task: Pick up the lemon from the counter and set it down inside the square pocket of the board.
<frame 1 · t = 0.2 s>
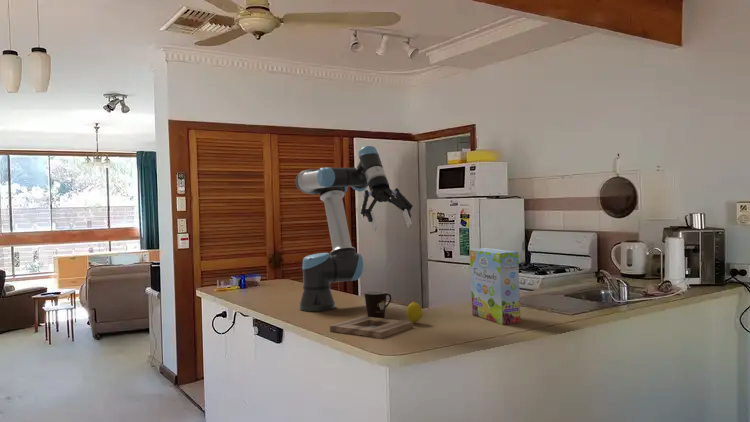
hand: (393, 227, 206), 35 cm above the counter, tool tilted 35°, fingers open, 13 cm apart
pocket board: (371, 329, 198), on the counter
snack box: (495, 319, 210), on the counter
coffee mug: (380, 318, 218), on the counter
lemon: (414, 324, 206), on the counter
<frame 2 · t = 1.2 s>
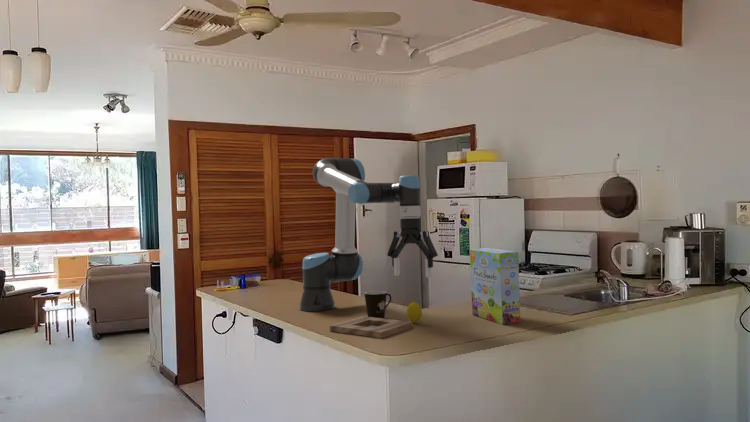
hand: (412, 276, 206), 17 cm above the counter, tool pointing down, fingers open, 13 cm apart
nothing on the counter moved.
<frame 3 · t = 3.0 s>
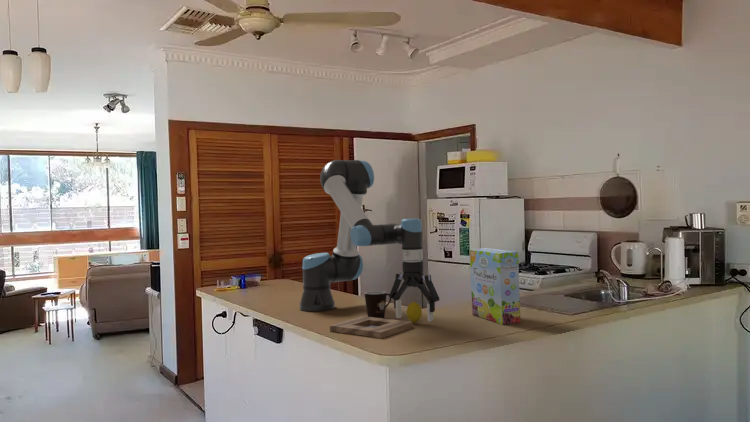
hand: (414, 319, 206), 2 cm above the counter, tool pointing down, fingers open, 13 cm apart
nothing on the counter moved.
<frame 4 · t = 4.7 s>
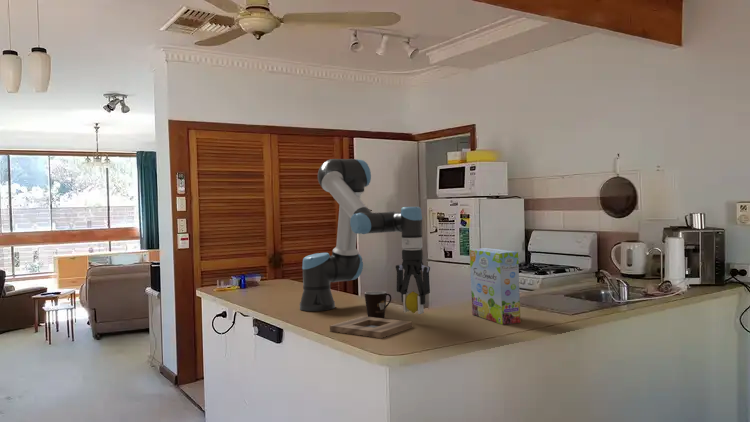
hand: (413, 312, 206), 4 cm above the counter, tool pointing down, fingers closed on lemon, 5 cm apart
lemon: (413, 313, 206), point 3 cm above the counter, touching gripper
everything else where it was.
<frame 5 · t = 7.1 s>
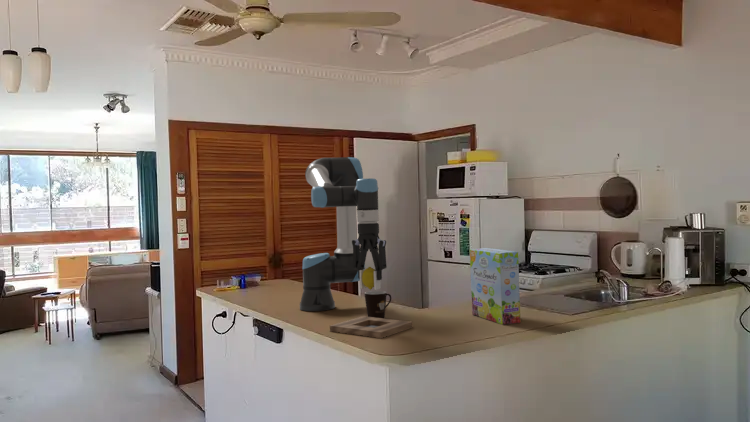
hand: (370, 288, 198), 14 cm above the counter, tool pointing down, fingers closed on lemon, 5 cm apart
lemon: (370, 290, 198), point 14 cm above the counter, touching gripper
everything else where it was.
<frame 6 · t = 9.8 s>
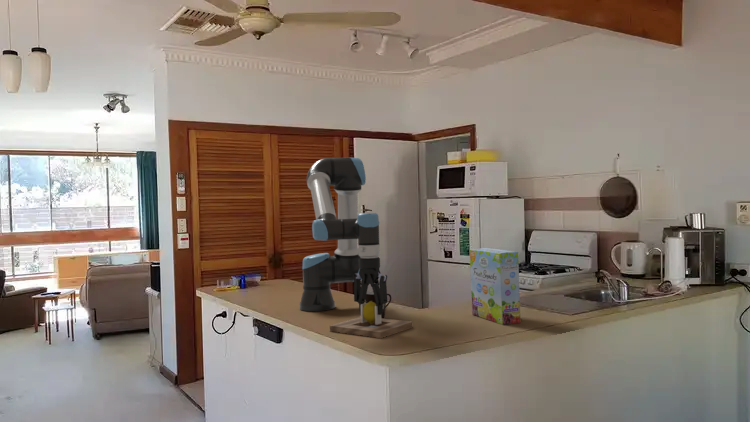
hand: (371, 322, 198), 2 cm above the counter, tool pointing down, fingers closed on lemon, 5 cm apart
lemon: (371, 324, 198), point 2 cm above the counter, touching gripper
everything else where it was.
when the fingers open (2 cm above the counter, at t = 9.9 s): lemon drops 2 cm, resting on pocket board.
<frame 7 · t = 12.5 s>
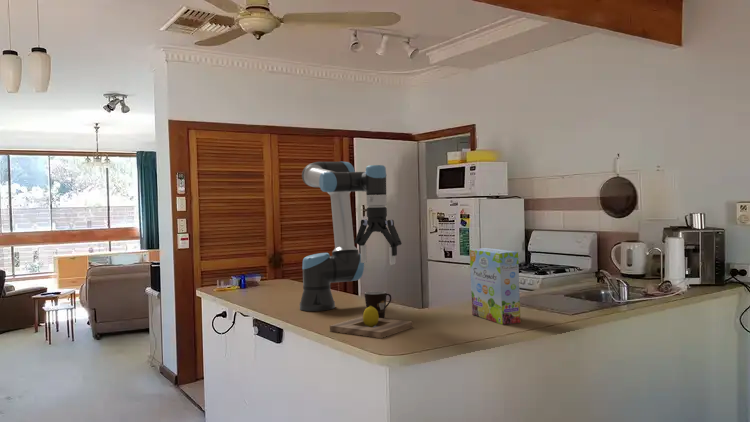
hand: (377, 263, 211), 22 cm above the counter, tool pointing down, fingers open, 13 cm apart
lemon: (370, 328, 199), resting on pocket board
everything else where it was.
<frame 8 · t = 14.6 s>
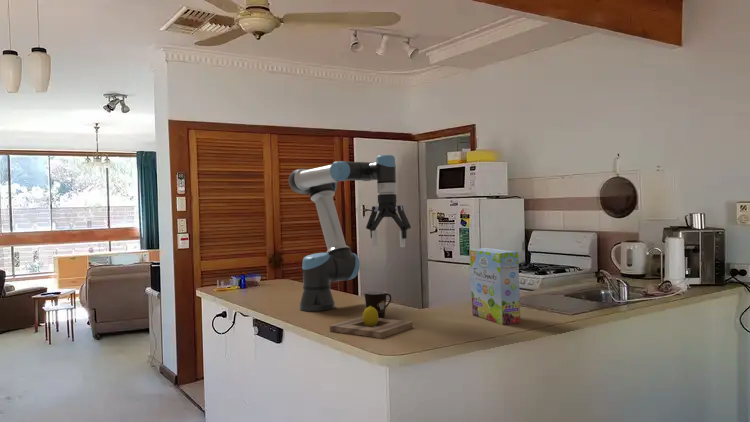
hand: (388, 246, 227), 27 cm above the counter, tool pointing down, fingers open, 13 cm apart
nothing on the counter moved.
at the end: lemon 0.3 cm off-centre on the pocket board, point 0.1 cm above the pocket board's base; the gripper is holding nothing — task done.
